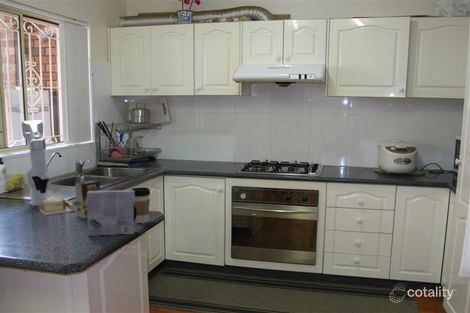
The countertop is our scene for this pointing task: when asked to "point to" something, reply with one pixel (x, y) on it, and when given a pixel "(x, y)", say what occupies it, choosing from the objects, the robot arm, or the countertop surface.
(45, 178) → the robot arm
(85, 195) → the coffee box
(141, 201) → the coffee cup
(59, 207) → the maple block
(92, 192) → the cake pan box
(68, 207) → the arena
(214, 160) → the countertop surface
